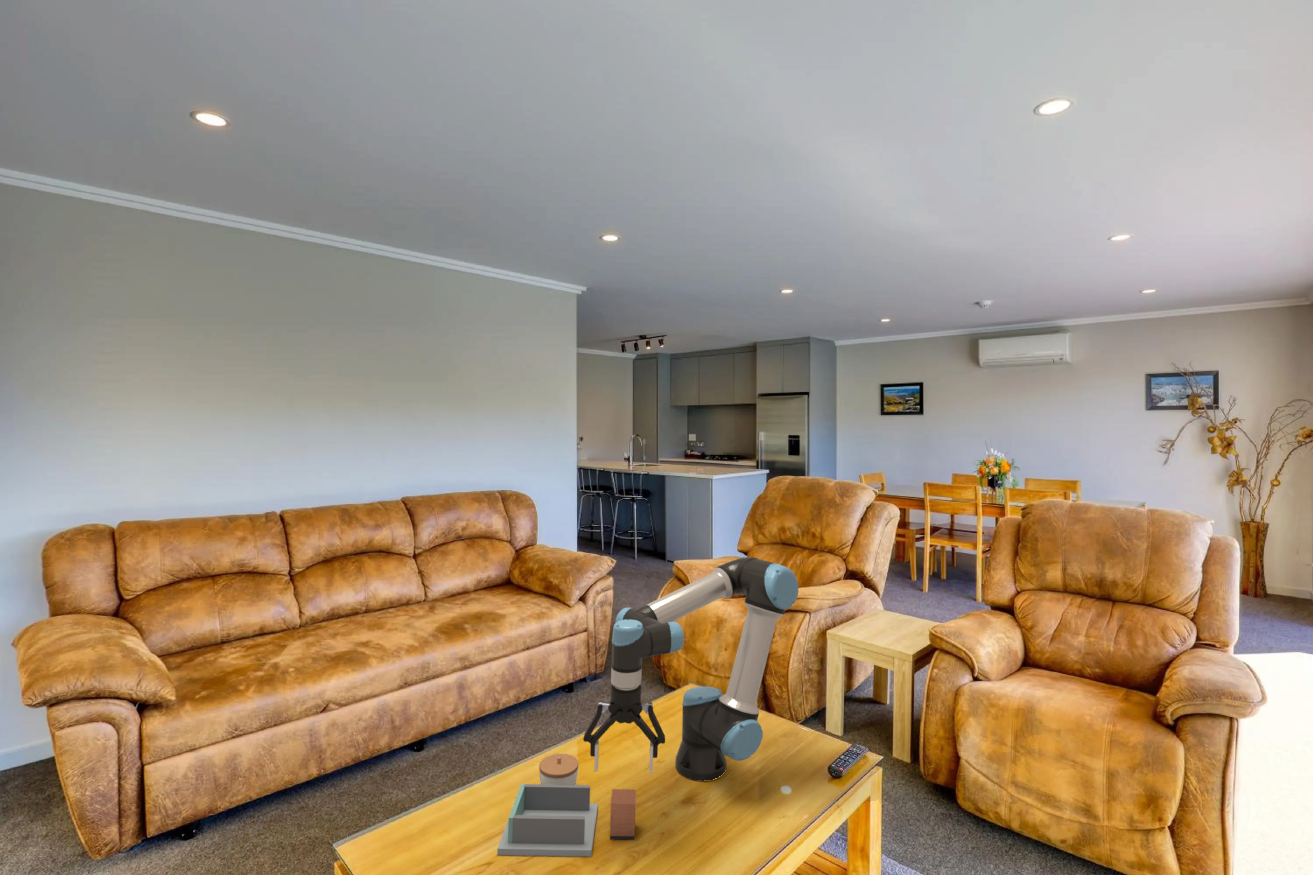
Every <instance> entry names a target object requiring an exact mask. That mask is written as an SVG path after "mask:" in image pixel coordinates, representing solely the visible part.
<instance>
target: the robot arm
mask: <svg viewBox="0 0 1313 875" xmlns="http://www.w3.org/2000/svg"><path fill="white" fill-rule="evenodd" d="M710 572H711V573H709V574H708V575H704V577H701V578H699V579H697V580H695V581H693V582H691V583H689V584H687V585H684V586H682V587H680V588H678V589H676V590H674V591H671V592H670V593H668V594H666V595H664V596H661V597H660V598H658V599H655V600H653V601H651V602H649V603H647V604H645V605H643V606H641V607H638V608H634V607H623V608H622V609H621V610H619V612H618V614H616V618H615V622H614V624H613V627H612V628H613V629H612V637H611V670H610V671H611V672H610V675H611V676H610V683H611V685H610V700H609V701H610V702H609V703H604V702H603V701H602V700H600V701H599V702H598V703H597V704H598V705H597V710H596V711H595V714H594V716H593V718H592V719H591V721H590V723H589V725H588V727H587V728H586V730H585V732H584V734H583V738H582V739H583V742H584V743H589V744H590V748H589V749H590V752H589V754H590V757H594V767H593V769H594V770H593V771H594V772H598V770H599V757H600V756H599V754H600V753H599V751H600V747H599V746H600V739H601V738H602V737H603V735H604V734H605V733H606V732H607V731H608V730H609V729H610V727H612V726H613V725H614V724H615V723H618V724H624V723H625V724H628V725H629V724H632V723H634V724H635V725H636V726H637V727H638V728H639V729H640V730H641V731H642V732H643V734H644V735H645V737H646V738H647V739H648V740H649V762H648V763H649V767H648V768H649V769H648V770H649V772H648V773H650V774H653V765H654V763H653V762H654V760H653V759H657V758H658V750H659V749H658V748H659V745H661V744H665V743H666V736H665V733H664V731H663V729H662V726H661V724H660V721H658V718H657V716H656V713H655V712H654V704H653V702H651V701H650V702H648V704H642V700H641V699H642V695H641V694H642V686H641V684H642V672H643V671H642V670H643V669H642V668H643V667H642V664H643V659H647V658H651V657H656V656H661V655H666V654H668V655H669V654H671V653H674V652H678V651H680V650H681V649H682V648H683V646H684V643H685V634H684V630H683V628H682V626H681V625H680V624H679V623H678V622H677V621H678V620H680V619H682V618H684V617H685V616H688V615H690V614H691V613H693V612H695V611H697V610H699V609H701V608H703V607H705V606H707V605H709V604H711V603H713V602H716V601H717V600H720V599H721V598H725V599H728V598H729V599H730V598H731V597H734V596H737V595H738V596H740V595H741V596H745V599H744V602H743V603H744V605H745V607H746V610H747V612H746V617H745V620H744V623H743V627H742V631H741V635H740V639H739V643H738V647H737V651H736V655H735V659H734V662H733V665H732V670H731V674H730V678H729V681H728V686H727V690H726V693H724V694H723V692H722V690H721V689H719V688H716V687H714V686H696V687H693V688H690V689H687V690H686V691H685V692H684V693H683V698H682V703H681V705H682V716H681V717H682V722H681V723H682V724H681V725H682V727H681V732H682V733H681V741H680V745H679V747H678V750H677V753H676V755H675V769H676V771H677V772H678V774H679V775H681V776H683V777H684V778H686V779H689V780H691V781H696V780H701V781H700V782H705V781H704V780H711V781H714V780H713V779H715V778H718V777H719V776H721V775H722V774H723V773H724V772H725V770H726V771H727V758H726V757H729V758H730V759H731V760H734V761H737V762H741V761H745V760H749V758H751V757H752V755H754V754H755V753H756V752H757V751H758V749H759V748H760V745H761V744H762V741H763V737H764V732H763V729H762V726H761V724H760V722H759V721H758V719H759V715H760V710H759V707H758V706H757V700H758V696H759V692H760V688H761V684H762V681H763V676H764V674H765V669H766V664H767V661H768V656H769V652H770V649H771V644H772V641H773V637H774V632H775V629H776V624H777V621H778V619H780V618H781V617H783V616H785V611H786V610H787V609H790V608H792V607H793V605H794V604H795V603H796V601H797V600H798V596H799V587H800V586H799V582H798V578H797V577H796V574H795V573H794V572H793V570H792V569H791V568H789V567H787V566H784V565H782V564H780V563H775V562H772V561H768V560H764V559H760V558H759V557H758V558H757V557H752V556H746V557H745V556H744V557H741V558H740V557H739V558H737V559H734V560H730V561H728V562H725V563H722V564H721V565H718V566H717V567H714V568H712V569H711V571H710ZM607 710H608V712H609V713H610V714H609V716H608V718H606V720H605V721H604V722H603V723H602V724H601V725H600V726H599V727H598V729H597V730H596V731H595V732H594V730H595V728H596V726H597V724H598V723H599V721H600V720H601V717H602V714H604V713H606V711H607ZM643 711H644V713H645V715H648V718H649V721H650V723H651V725H652V727H653V729H654V731H655V733H654V731H653V730H652V729H651V728H650V727H649V726H648V724H647V722H645V720H644V719H643V717H642V716H641V713H642V712H643ZM593 732H594V733H593ZM592 733H593V734H592ZM725 773H726V772H725ZM718 779H719V778H718ZM715 780H716V779H715Z"/></svg>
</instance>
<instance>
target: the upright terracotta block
mask: <svg viewBox="0 0 1313 875" xmlns="http://www.w3.org/2000/svg"><path fill="white" fill-rule="evenodd" d="M636 794H637V790H636V789H635V788H634V789H625V788H621V789H620V788H612V790H611V796H610V798H611V799H610V822H609V823H610V825H609V826H610V827H609V840H611V841H613V840H614V841H615V840H616V841H635V838H636V836H635V835H636V834H635V833H636V832H635V831H636V806H637V805H636V799H637V795H636Z"/></svg>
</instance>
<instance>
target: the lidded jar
mask: <svg viewBox="0 0 1313 875" xmlns="http://www.w3.org/2000/svg"><path fill="white" fill-rule="evenodd" d="M538 768H539V781H540V782H539V783H540V784H550V785H576V782H577V780H578V775H579V774H578V773H579V760H578V759H577V758H576V756H573V755H571V754H569V753H568V754H567V753H554V754H550V755H547V756H546V757H544V758H543V759H541V761H540V762H539V765H538Z"/></svg>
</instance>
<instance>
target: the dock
mask: <svg viewBox="0 0 1313 875" xmlns="http://www.w3.org/2000/svg"><path fill="white" fill-rule="evenodd" d="M590 802H591V785H590V784H575V785H550V784H541V783H520V786H519V789H518V791H517V794H516V797H515V800H514V802H513V804H512V807H511V811H510V814H509V815H508V818H507V822H506V824H505V827H504V830H503V833H502V835H501V838H500V840H499V843H498V846H497V851H496V852H497V856H524V857H525V856H526V857H527V856H528V857H529V856H531V857H532V856H535V857H536V856H537V857H540V856H541V857H589V858H591V857H592V855H593V854H592V853H593V846H594V838H595V832H596V824H597V817H598V810H599V808H598V806H599V804H598V803H593V802H592V803H590Z"/></svg>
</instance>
